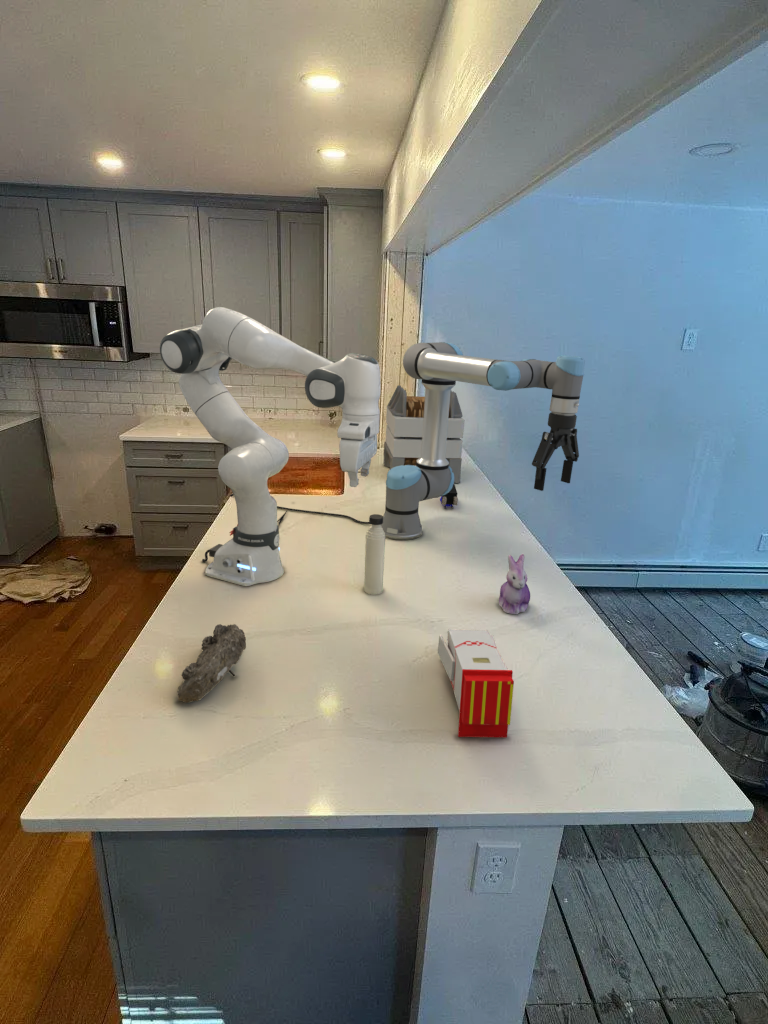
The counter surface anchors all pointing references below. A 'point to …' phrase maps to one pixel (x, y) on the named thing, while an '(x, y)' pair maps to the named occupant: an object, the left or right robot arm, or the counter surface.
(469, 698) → the toy
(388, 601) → the counter surface
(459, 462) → the grey slatted crate
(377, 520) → the cap
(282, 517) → the feather
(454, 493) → the figurine character
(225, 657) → the fossil
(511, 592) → the figurine
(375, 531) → the bottle
